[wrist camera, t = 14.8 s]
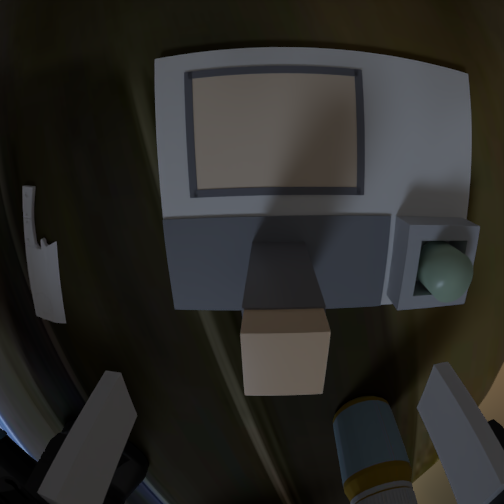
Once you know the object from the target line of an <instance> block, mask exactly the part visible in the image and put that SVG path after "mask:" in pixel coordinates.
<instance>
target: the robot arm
mask: <svg viewBox="0 0 504 504" xmlns="http://www.w3.org/2000/svg"><path fill="white" fill-rule="evenodd" d="M417 409H418V411H419V413H420V416H421V418H422V420H423V422H424V424H425V426H426V429H427V431H428V433H429V435H430V437H431V440H432V442H433V444H434V447H435V449H436V451H437V454H438V456H439V458H440V460H441V463H442V465H443V468H444V470H445V473H446V475H447V477H448V480H449V482H450V485H451V488H452V490H453V493H454V495H455V498H456V501H457V504H504V428H503V427H502V426H501V425H500V424H499V423H497V422H496V421H495V420H494V419H493V420H490V421H488V422H487V421H486V419H485V417H484V416H483V414H482V413H481V411H480V409H479V408H478V406H477V405H476V403H475V401H474V400H473V398H472V397H471V395H470V394H469V392H468V391H467V389H466V388H465V386H464V385H463V383H462V382H461V380H460V379H459V377H458V376H457V374H456V373H455V371H454V370H453V368H452V367H451V365H450V364H449V363H448V362H443V363H438V364H434V366H433V368H432V371H431V374H430V377H429V379H428V382H427V384H426V387H425V389H424V392H423V394H422V397H421V399H420V402H419V404H418V406H417ZM136 417H137V413H136V411H135V408H134V406H133V403H132V401H131V398H130V396H129V393H128V390H127V388H126V385H125V382H124V380H123V377H122V374H121V373H120V372H112V371H105V372H104V374H103V376H102V377H101V379H100V381H99V382H98V384H97V386H96V387H95V389H94V391H93V392H92V394H91V396H90V397H89V399H88V401H87V402H86V404H85V406H84V407H83V409H82V411H81V412H80V414H79V416H78V418H77V419H76V420H72V421H69V422H67V423H66V425H65V426H64V428H63V430H62V432H61V433H58V434H57V435H56V436H55V437H53V438H52V439H51V440H50V442H49V443H48V445H47V447H46V449H45V452H43V454H42V456H41V459H39V461H38V462H37V461H36V460H34V459H33V458H32V457H31V456H30V455H28V454H27V453H26V452H25V451H24V450H23V449H22V448H20V447H19V446H18V445H17V444H16V443H15V442H14V441H13V440H12V439H11V438H10V437H9V436H8V435H7V433H6V432H5V431H4V430H2V429H1V428H0V504H124V503H125V500H126V499H127V498H128V497H129V496H130V495H131V493H132V492H133V491H134V490H135V489H136V488H137V487H138V485H139V484H140V483H141V482H142V481H143V480H144V478H145V476H146V473H147V470H148V466H149V464H148V461H147V459H146V457H145V456H144V455H143V454H142V452H141V451H140V450H139V449H137V448H136V447H135V446H134V445H133V444H131V443H130V442H129V441H127V439H128V437H129V434H130V432H131V430H132V427H133V425H134V422H135V420H136Z"/></svg>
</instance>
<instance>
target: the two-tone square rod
mask: <svg viewBox="0 0 504 504" xmlns="http://www.w3.org/2000/svg"><path fill="white" fill-rule="evenodd" d="M325 311H326V305H325V302H324V299H323V296H322V293H321V290H320V287H319V283H318V280H317V277H316V274H315V271H314V268H313V265H312V262H311V260H310V257H309V254H308V251H307V248H306V245H305V242H304V241H301V242H252V247H251V253H250V259H249V265H248V271H247V278H246V284H245V290H244V296H243V302H242V326H241V332H240V336H241V351H242V365H243V379H244V392H245V395H251V396H274V395H308V394H322V393H323V386H324V380H325V373H326V365H327V358H328V350H329V342H330V333H331V331H330V328H329V324H328V321H327V318H326V314H325Z"/></svg>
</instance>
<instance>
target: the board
mask: <svg viewBox="0 0 504 504" xmlns="http://www.w3.org/2000/svg"><path fill="white" fill-rule="evenodd" d="M155 112H156V135H157V152H158V166H159V179H160V191H161V201H162V211H163V228H164V237H165V245H166V253H167V260H168V267H169V274H170V281H171V288H172V294H173V300H174V306H175V309H183V310H242V302H243V296H244V290H245V284H246V278H247V271H248V265H249V259H250V253H251V247H252V242H301V241H304V242H305V245H306V248H307V251H308V254H309V257H310V260H311V262H312V265H313V268H314V271H315V274H316V277H317V280H318V283H319V287H320V290H321V293H322V296H323V299H324V302H325V305H326V309H328V308H351V307H369V306H380V305H383V304H393V305H394V306H395V308H396V309H397V310H407V309H419V308H429V307H439V306H449V305H458V304H464V302H465V299H466V295H467V291H468V289H467V290H466V292H465V293H464V294H463V295H462V296H461V297H460V298H458V299H457V300H455V301H452V302H448V303H444V302H440V301H438V300H437V299H436V298H435V297H434V296H433V295H432V294H431V293H430V292H429V290H428V289H427V288H426V287H425V286H424V285H423V284H422V283H421V282H420V281H419V280H418V278H417V277H416V276H417V270H418V264H419V257H420V250H421V249H422V247H423V246H424V245H426V244H427V243H428V242H430V241H446V242H447V243H449V244H450V245H452V246H453V247H455V248H456V249H458V250H459V251H460V252H462V253H463V254H465V255H466V256H468V257H469V259H470V260H471V262H472V265H473V264H474V259H475V254H476V248H477V243H478V237H479V230H480V226H478V225H476V224H474V223H472V222H470V221H468V220H467V211H468V202H469V190H470V176H471V147H472V132H471V104H470V89H469V79H468V74H467V73H464V72H460V71H457V70H453V69H450V68H446V67H442V66H438V65H434V64H430V63H425V62H421V61H416V60H411V59H406V58H400V57H395V56H389V55H382V54H375V53H368V52H360V51H350V50H340V49H326V48H305V47H260V48H239V49H226V50H215V51H205V52H197V53H189V54H182V55H176V56H169V57H164V58H158V59H155Z"/></svg>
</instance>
